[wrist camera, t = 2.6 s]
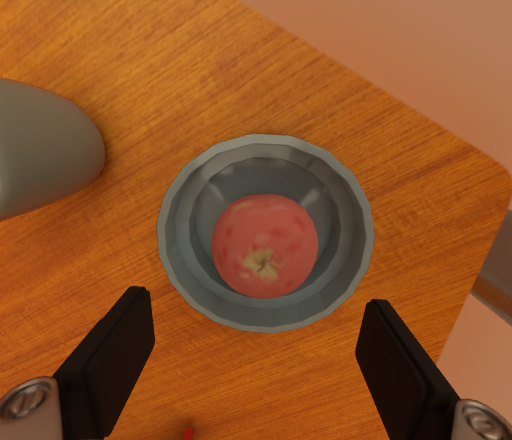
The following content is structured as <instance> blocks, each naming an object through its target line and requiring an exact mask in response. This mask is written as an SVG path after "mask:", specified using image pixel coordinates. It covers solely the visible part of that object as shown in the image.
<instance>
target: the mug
mask: <svg viewBox="0 0 512 440" xmlns="http://www.w3.org/2000/svg"><path fill="white" fill-rule="evenodd" d="M192 434H193V430H192V429H188V428H186V429H185V433H184V436H183V440H191V438H192Z"/></svg>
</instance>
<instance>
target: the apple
mask: <svg viewBox="0 0 512 440" xmlns="http://www.w3.org/2000/svg"><path fill="white" fill-rule="evenodd" d="M211 251H212V255H213V260H214V264H215V266H216V268H217V270H218V272H219V274H220V276H221V278H222V279H223V280H224V281H225V282H226V283H227V284H228V285H229V286H230V287H232V288H233V289H235V290H236V291H238V292H239V293H242V294H244V295H247V296H249V297H254V298H259V299H270V298H275V297H280V296H283V295H285V294H287V293H290V292H292V291H294V290H295V289H296V288H297V287H299V286H300V285H301V284H302V283H303V282H304V281H305V279H306V278H307V277H308V275H309V274H310V273H311V271H312V268H313V266H314V264H315V261H316V257H317V251H318V239H317V232H316V229H315V226H314V223H313V221H312V219H311V218H310V216H309V214H308V213H307V211H306V210H305V209H304V208H303V207H301V206H300V205H299V204H298V203H296V202H295V201H294V200H292V199H289V198H287V197H285V196H282V195H276V194H254V195H248V196H244V197H242V198H240V199H237V200H235V201H233V202H231V203H230V204H229V205H228V207H227V208H226V209H225V210H224V211H223V212H222V213H221V215H220V216H219V218H218V220H217V222H216V224H215V227H214V231H213V235H212V243H211Z"/></svg>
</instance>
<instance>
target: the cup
mask: <svg viewBox="0 0 512 440" xmlns="http://www.w3.org/2000/svg"><path fill="white" fill-rule="evenodd" d="M105 159H106V149H105V144H104V140H103V138H102V135H101V133H100V131H99V129H98V128H97V126H96V124H95V123H94V122H93V120H92V119H91V118H90V116H89V115H88V114H87V113H86V112H85V111H84V110H83V109H82V108H81V107H79V106H78V105H76V104H75V103H73V102H72V101H70V100H69V99H67V98H65V97H63V96H61V95H59V94H56V93H54V92H51V91H48V90H46V89H43V88H40V87H37V86H34V85H31V84H27V83H23V82H20V81H16V80H11V79H7V78H3V77H0V222H2V221H5V220H8V219H11V218H13V217H16V216H19V215H22V214H25V213H28V212H31V211H34V210H37V209H39V208H42V207H45V206H47V205H50V204H53V203H55V202H57V201H60V200H62V199H64V198H66V197H69V196H71V195H73V194H75V193H77V192H79V191H81V190H82V189H84V188H85V187H87V186H88V185H89V184H91V183H92V182H93V181H94V180H95V179H96V178H97V177H98V176H99V174H100V173H101V172H102V170H103V167H104V165H105Z"/></svg>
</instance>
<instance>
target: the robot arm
mask: <svg viewBox="0 0 512 440" xmlns="http://www.w3.org/2000/svg"><path fill="white" fill-rule="evenodd" d="M154 344H155V335H154V326H153V317H152V308H151V299H150V292H149V291H148V290H146V288H145V287H139V286H130V287H129V288H128V289H127V290H126V291H125V293H124V294H123V295H122V296H121V297H120V299H119V300H118V301H117V302H116V303H115V304H114V306H113V307H112V308H111V309H110V310H109V312H108V313H107V314H106V315H105V316H104V318H102V319H101V320H100V321H99V322H98V323H97V324H96V325H95V326H94V327H93V329H92V330H91V331H90V332H89V333H88V334H87V336H86V337H85V338H84V339H83V340H82V342H81V343H80V344H79V345H78V346H77V347H76V349H75V350H74V351H73V352H72V353H71V354H70V356H69V357H68V358H67V359H66V360H65V362H64V363H63V364H62V365H61V366H60V367H59V369H58V370H57V371H56V372H55V373H54V374H53V376H52V377H50V376H40V377H35V378H32V379H29V380H26V381H24V382H22V383H21V384H19V385H17V386H15V387H14V388H13V389H11V390H10V391H8V392H7V393H6V394H5V395H4V396H3V397H2V398H1V399H0V440H103V439H104V437H108V436H109V435H110V434H111V432H112V430H113V428H114V426H115V424H116V422H117V420H118V418H119V416H120V414H121V412H122V410H123V408H124V406H125V404H126V402H127V400H128V398H129V396H130V394H131V392H132V390H133V388H134V386H135V384H136V382H137V380H138V378H139V376H140V374H141V372H142V370H143V368H144V366H145V364H146V362H147V360H148V358H149V356H150V354H151V352H152V350H153V347H154ZM355 355H356V359H357V362H358V364H359V367H360V369H361V371H362V374H363V376H364V379H365V381H366V383H367V386H368V388H369V391H370V393H371V395H372V398H373V400H374V403H375V405H376V407H377V410H378V412H379V415H380V417H381V419H382V422H383V424H384V427H385V429H386V431H387V434H388V436H389V439H390V440H512V426H511V424H510V423H509V422H508V421H507V420H506V419H505V418H504V417H503V416H501V415H500V414H499V413H498V412H497V411H495V410H494V409H492V408H490V407H489V406H487V405H486V404H483V403H481V402H479V401H476V400H472V399H460V397H459V396H458V395H457V393H456V392H455V390H454V389H453V388H452V386H451V385H450V384H449V382H448V381H447V380H446V379H445V377H444V376H443V374H442V373H441V372H440V370H439V369H438V368H437V366H436V365H435V364H434V362H433V361H432V359H431V358H430V357H429V355H428V354H427V353H426V351H425V350H424V349H423V347H422V346H421V345H420V343H419V342H418V341H417V339H416V338H415V337H414V335H413V334H412V333H411V331H410V330H409V329H408V327H407V326H406V325H405V323H404V322H403V320H402V319H401V318H400V316H399V315H398V314H397V312H396V311H395V310H394V308H393V307H392V306H391V304H390V303H389V302H388V301H387V300H382V299H372V300H371V301H370V302H368V303H367V304H366V308H365V312H364V316H363V320H362V324H361V329H360V333H359V337H358V341H357V345H356V350H355Z"/></svg>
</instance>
